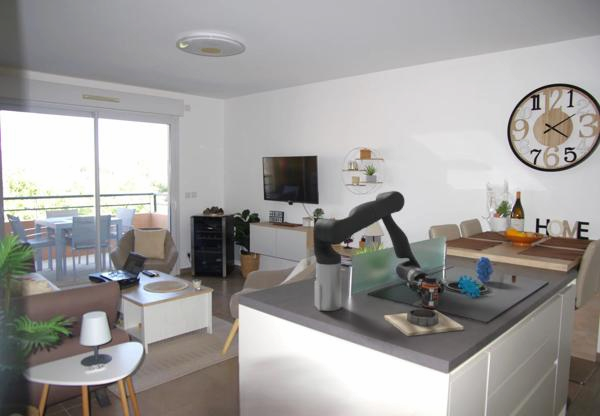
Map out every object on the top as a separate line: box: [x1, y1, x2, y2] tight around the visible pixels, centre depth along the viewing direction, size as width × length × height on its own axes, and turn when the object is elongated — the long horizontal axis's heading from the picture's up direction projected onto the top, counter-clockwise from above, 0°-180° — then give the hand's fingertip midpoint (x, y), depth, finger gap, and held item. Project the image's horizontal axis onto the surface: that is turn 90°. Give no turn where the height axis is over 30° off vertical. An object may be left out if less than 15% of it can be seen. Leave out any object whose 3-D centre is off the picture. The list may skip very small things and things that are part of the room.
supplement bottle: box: [421, 275, 439, 309], centre depth 160 cm, size 6×6×11 cm
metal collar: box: [406, 307, 439, 327], centre depth 143 cm, size 10×10×2 cm
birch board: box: [383, 309, 464, 337], centre depth 143 cm, size 20×16×1 cm
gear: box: [456, 274, 482, 299], centre depth 175 cm, size 11×6×10 cm
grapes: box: [474, 256, 494, 284], centre depth 190 cm, size 12×7×12 cm, turn 129°
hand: (432, 291), depth 157 cm, fingers closed on supplement bottle, 6 cm apart
